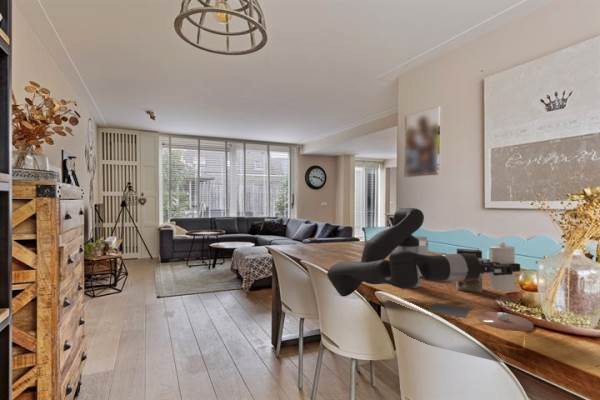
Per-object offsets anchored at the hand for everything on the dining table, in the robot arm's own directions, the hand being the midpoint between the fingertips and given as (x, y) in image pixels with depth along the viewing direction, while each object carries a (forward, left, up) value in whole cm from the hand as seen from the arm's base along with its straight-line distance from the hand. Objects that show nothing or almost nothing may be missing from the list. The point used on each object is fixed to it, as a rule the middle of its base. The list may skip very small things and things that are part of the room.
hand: (509, 265), depth 93 cm
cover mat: (-17, +1, -17) cm, 24 cm away
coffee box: (-16, +34, -17) cm, 41 cm away
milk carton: (-40, +49, -17) cm, 66 cm away
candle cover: (-2, -2, -7) cm, 7 cm away
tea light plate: (-2, -1, -17) cm, 17 cm away
